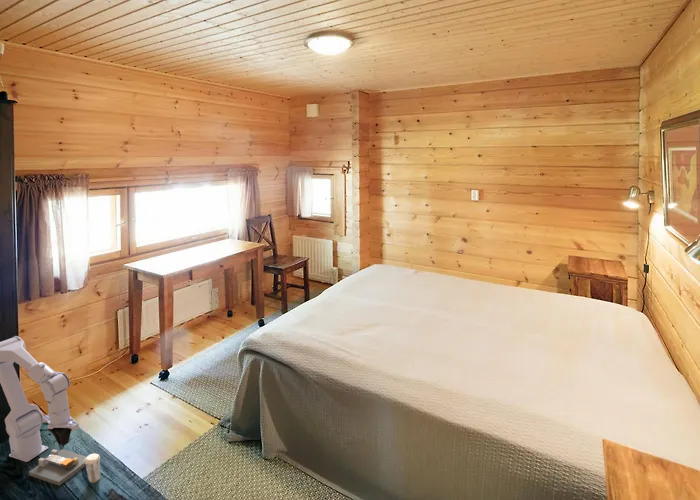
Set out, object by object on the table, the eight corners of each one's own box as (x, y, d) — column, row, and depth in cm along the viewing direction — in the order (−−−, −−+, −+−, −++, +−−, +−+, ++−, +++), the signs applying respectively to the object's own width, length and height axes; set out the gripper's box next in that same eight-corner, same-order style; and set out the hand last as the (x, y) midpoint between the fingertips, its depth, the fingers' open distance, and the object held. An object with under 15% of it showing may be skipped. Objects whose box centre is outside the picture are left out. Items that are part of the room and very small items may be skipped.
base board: (29, 475, 142) (27, 465, 141) (62, 452, 153) (61, 443, 152) (59, 485, 138) (57, 475, 137) (91, 461, 149) (90, 451, 148)
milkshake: (97, 485, 138) (94, 460, 136) (83, 483, 139) (80, 457, 137) (107, 476, 142) (104, 450, 140) (94, 473, 143) (91, 448, 141)
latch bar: (43, 460, 145) (43, 457, 145) (51, 455, 148) (51, 452, 148) (66, 468, 142) (65, 465, 142) (73, 462, 145) (73, 459, 144)
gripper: (31, 410, 140) (37, 445, 143) (62, 420, 135) (68, 456, 138) (52, 399, 146) (57, 433, 149) (82, 408, 142) (87, 442, 145)
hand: (63, 443), depth 144 cm, fingers closed
